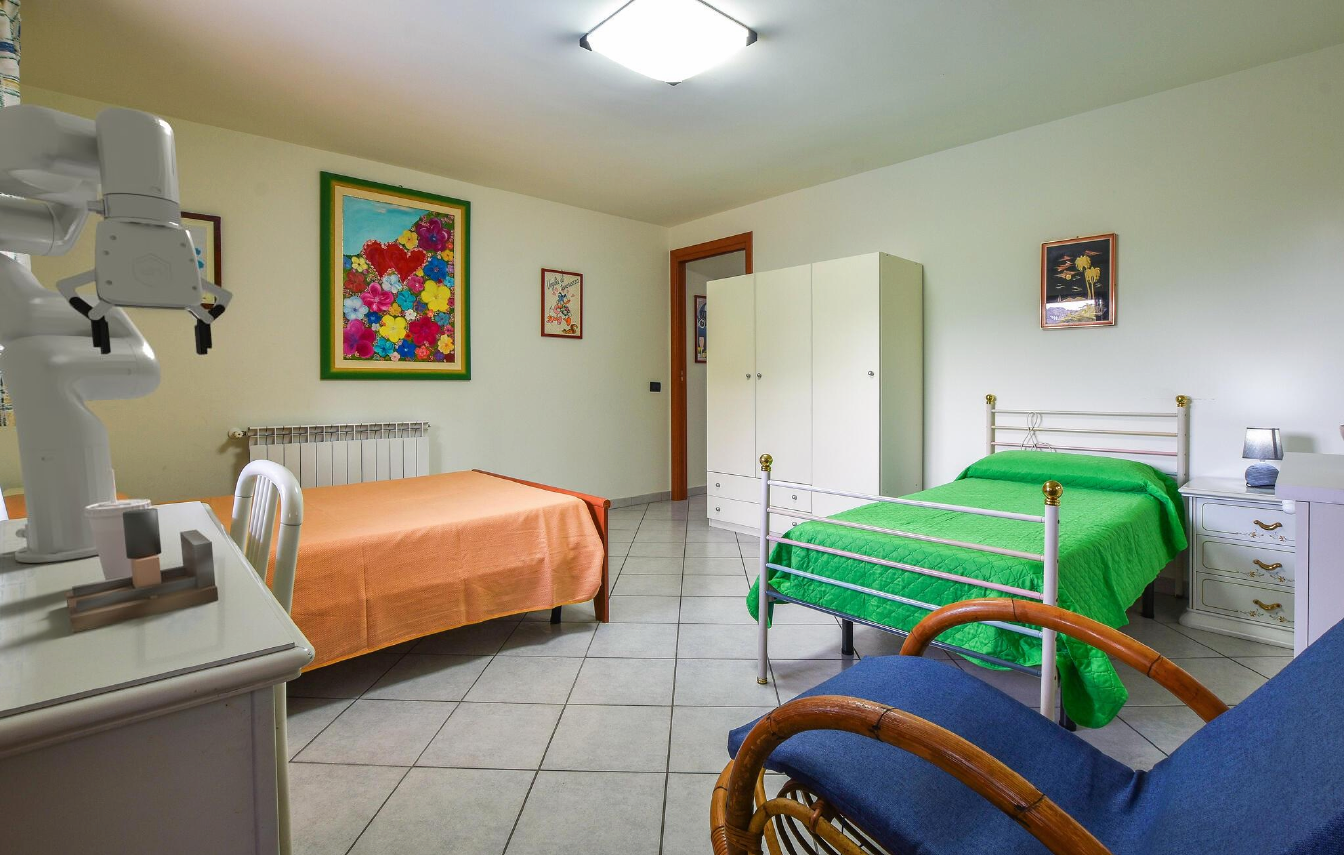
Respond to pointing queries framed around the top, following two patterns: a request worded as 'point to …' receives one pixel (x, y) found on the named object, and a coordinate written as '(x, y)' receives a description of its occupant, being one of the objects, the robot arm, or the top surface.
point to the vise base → (147, 590)
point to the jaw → (143, 545)
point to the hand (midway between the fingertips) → (156, 354)
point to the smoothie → (112, 531)
